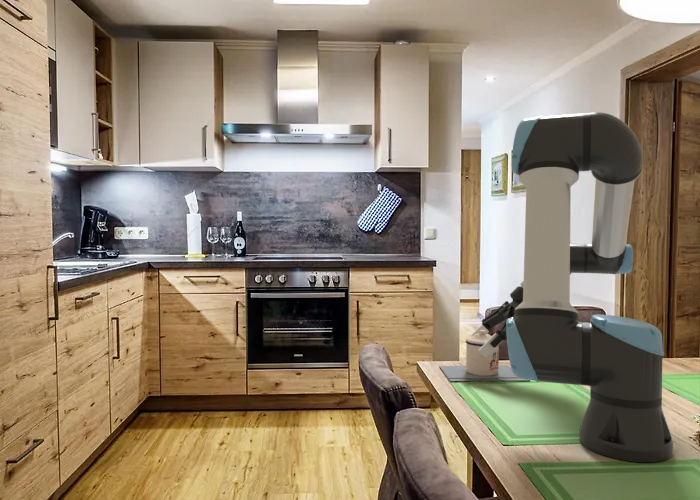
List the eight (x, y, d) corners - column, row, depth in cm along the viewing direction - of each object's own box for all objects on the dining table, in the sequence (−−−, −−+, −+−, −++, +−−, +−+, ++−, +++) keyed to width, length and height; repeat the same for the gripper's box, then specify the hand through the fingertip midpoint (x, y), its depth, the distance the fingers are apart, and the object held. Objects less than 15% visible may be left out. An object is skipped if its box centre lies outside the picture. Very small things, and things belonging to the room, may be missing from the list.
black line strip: (530, 381, 141) (530, 380, 141) (450, 382, 141) (450, 380, 141) (527, 379, 143) (527, 378, 143) (448, 379, 143) (448, 378, 143)
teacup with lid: (496, 378, 143) (497, 334, 143) (462, 374, 147) (462, 332, 146) (502, 367, 154) (503, 327, 154) (470, 364, 158) (470, 325, 157)
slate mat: (523, 378, 144) (523, 377, 144) (448, 379, 144) (448, 377, 144) (507, 366, 157) (507, 365, 157) (439, 367, 157) (439, 366, 157)
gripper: (557, 310, 138) (498, 369, 138) (523, 298, 162) (473, 348, 163) (536, 289, 137) (477, 348, 137) (506, 281, 162) (456, 331, 162)
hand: (475, 348), depth 150 cm, fingers open, 13 cm apart
